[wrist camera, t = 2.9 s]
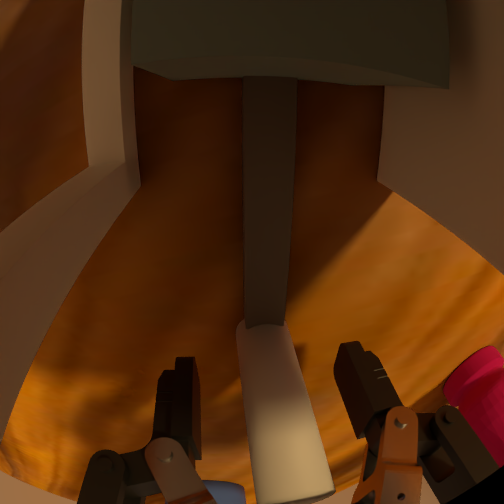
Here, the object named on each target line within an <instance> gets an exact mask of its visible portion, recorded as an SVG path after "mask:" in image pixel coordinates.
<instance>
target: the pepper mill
mask: <svg viewBox="0 0 504 504" xmlns="http://www.w3.org/2000/svg"><path fill="white" fill-rule="evenodd" d="M503 364H504V359H503V357H502V356H501V354H500V353H499V352H498V351H497V349H496V348H495V347H494V346H487V347H484V348H482V349H480V350H479V351H477V352H475V353H474V354H473V355H471V356H470V357H469V358H468V359H466V360H465V361H464V362H463V363H462V364H461V365H460V366H459V367H458V368H457V369H456V370H455V371H454V372H453V373H452V374H451V376H450V377H449V378H448V380H447V382H446V383H445V385H444V388H443V393H444V395H445V397H446V398H447V400H448V402H449V404H450V405H451V406H453V407H457V406H459V409H458V410H459V411H460V412H461V414H462V415H463V416H464V418H465V419H466V421H467V422H468V423H469V425H470V426H471V427H472V429H473V430H474V432H475V433H476V434H477V436H478V437H479V438H480V440H481V441H482V443H483V444H484V446H485V447H486V448H487V450H488V451H489V453H490V454H491V456H492V457H493V459H494V460H495V462H496V463H497V465H498V466H499V468H500V467H502V466H503V465H504V368H502V367H503Z"/></svg>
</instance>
